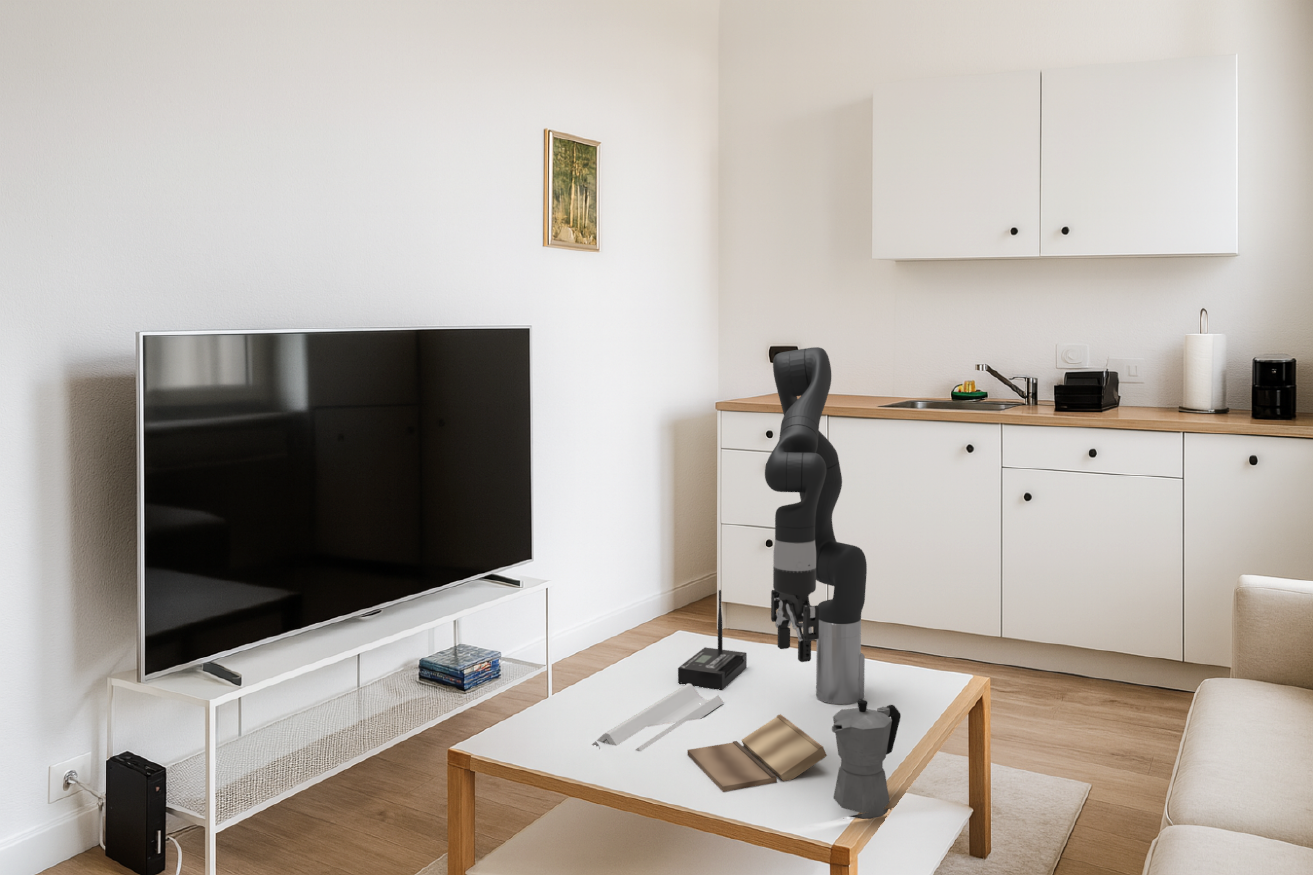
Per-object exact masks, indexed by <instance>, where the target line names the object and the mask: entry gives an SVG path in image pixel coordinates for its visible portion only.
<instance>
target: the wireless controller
mask: <svg viewBox="0 0 1313 875" xmlns="http://www.w3.org/2000/svg"><path fill="white" fill-rule="evenodd" d="M717 613H718V614H717V648H713V647H703V648H702V649H701V650H699V651H698V652H697V653H695V655H693V656H692V657H690V658H688V659H687V660H686V661H685V662H684V663H682V664H681V665H680V666H679V667H678V668H677V683H679V684H678V685H681V684H685V685H686V684H688V683H689V684H692V685H693V687H695V686H699V687H698V688H702V687H703V688H704V689H708V688H709V690H715V689H719V690H718V691H723V690H725V689H726V688H727V687H728V686H729V685H730V684H731V683H732V682H733V681H734V680H735V679H736V678H738V676H740V675H741V674H742V673H743V672H745V670H746V669H747V665H748V664H747V660H748V658H747V656H748V655H747V652H745V651H744V652H743V651H737V650H730V649H729V650H728V649H723V645H724V644H723V611H722V589H719V590H718V612H717ZM726 686H727V687H726ZM703 688H702V689H703Z"/></svg>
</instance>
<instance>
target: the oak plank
mask: <svg viewBox="0 0 1313 875" xmlns="http://www.w3.org/2000/svg"><path fill="white" fill-rule="evenodd" d="M740 740H741V743H742V746H743V747H744V748H745V749H746V750H747V751H748V752H750V753H751V754H752V755H753V756H754V757H755V758H756V759H757V760H758V761H760V762H761V763H762V764H763V765H764V766H765V767H766V768H767V769H768V770H770V771H771V772H772V773H773V774H774V775H775V776H776V777H778V778H780V780H782V781H783V782H785V781H791V780H793V779H795V778H796V777H799V776H800V775H801V774H802V773H804V772H806V771H807V770H808V769H810V768H812V767H813V766H814V765H816V764H817V763H819V762H820V761H822V760H823V759H824V758H826V757H827V756H828V755H827V752H826V750H825V748H824V746H823V745H822V744H820V743H819V742H818V741H816V739H814V738H813V737H811V736H810V735H808V734H807V733H806V732H805V731H804V730H802V729H801V728H800V727H798V726H797V725H795V723H793V722H792V721H791V720H789V719H787V718H786V717H785V716H784V715H782V714H781V713H780V714H778V715H776V717H774V718H773V719H771V720H769V721H768V722H766V723H765V724H763V725H762V726H760V727H758V729H756V730H754V731H753V732H751V733H749V734H748V735H747V736H745V737H743V738H742V739H740Z"/></svg>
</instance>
